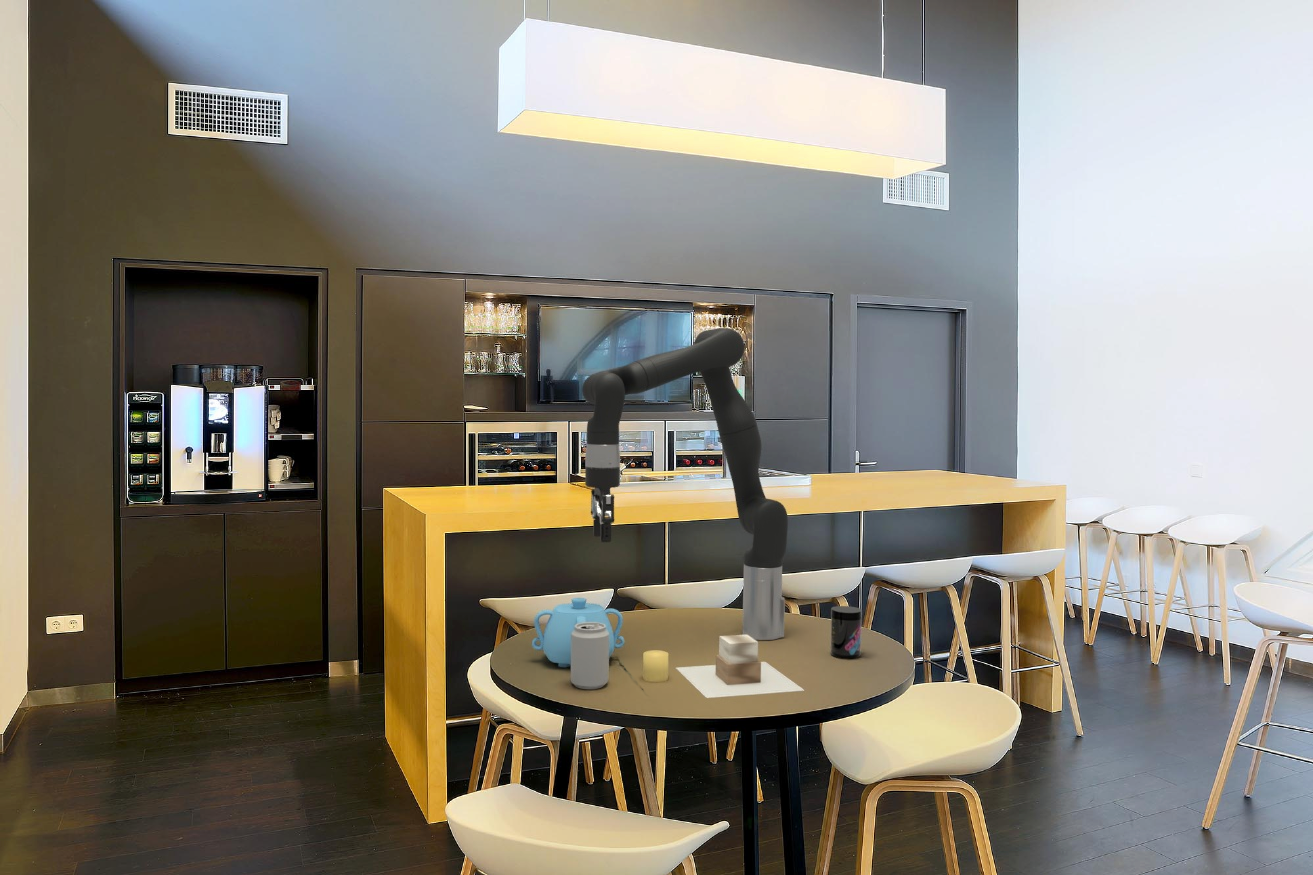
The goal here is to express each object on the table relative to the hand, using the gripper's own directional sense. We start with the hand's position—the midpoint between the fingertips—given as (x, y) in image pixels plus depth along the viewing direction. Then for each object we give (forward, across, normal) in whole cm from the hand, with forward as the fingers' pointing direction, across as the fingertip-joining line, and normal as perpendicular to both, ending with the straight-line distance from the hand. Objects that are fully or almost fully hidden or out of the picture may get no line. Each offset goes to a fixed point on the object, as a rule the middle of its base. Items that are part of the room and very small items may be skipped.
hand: (601, 539), depth 202 cm
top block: (+21, -24, -23) cm, 40 cm away
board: (+26, -24, -23) cm, 42 cm away
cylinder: (+26, -20, -7) cm, 34 cm away
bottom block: (+25, -24, -23) cm, 42 cm away
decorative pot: (+26, -2, +5) cm, 27 cm away
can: (+26, -19, +6) cm, 33 cm away
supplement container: (+26, -9, -54) cm, 61 cm away
